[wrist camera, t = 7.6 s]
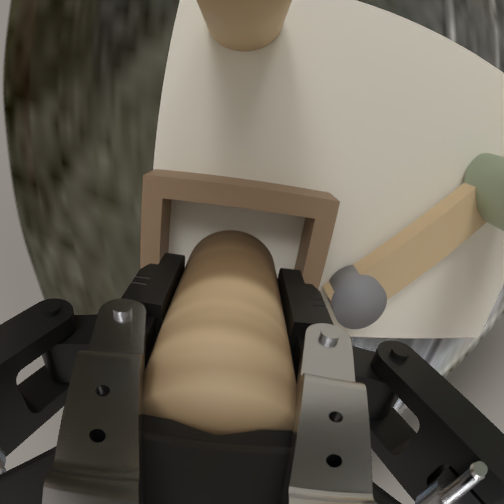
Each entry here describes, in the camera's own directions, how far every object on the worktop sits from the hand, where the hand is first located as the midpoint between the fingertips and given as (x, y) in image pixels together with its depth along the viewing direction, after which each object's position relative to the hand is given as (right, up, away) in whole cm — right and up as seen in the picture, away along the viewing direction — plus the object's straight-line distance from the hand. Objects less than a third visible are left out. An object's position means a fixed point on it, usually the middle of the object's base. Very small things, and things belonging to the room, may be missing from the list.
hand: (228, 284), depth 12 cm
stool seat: (+7, +5, +3) cm, 9 cm away
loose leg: (0, 0, +1) cm, 1 cm away
